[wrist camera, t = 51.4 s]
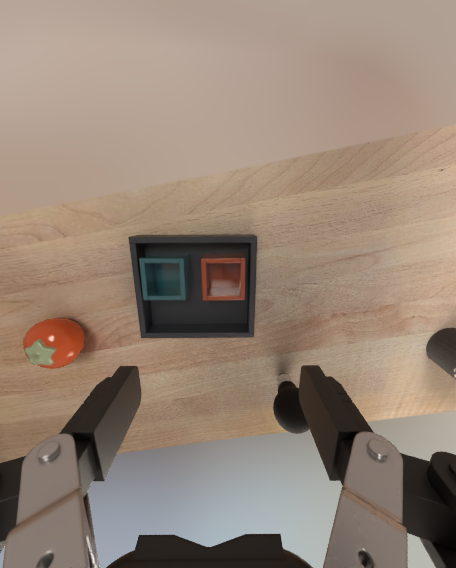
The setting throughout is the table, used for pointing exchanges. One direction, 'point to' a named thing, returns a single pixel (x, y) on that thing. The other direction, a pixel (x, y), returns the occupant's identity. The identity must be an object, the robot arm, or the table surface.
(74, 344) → the tomato
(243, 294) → the box brown
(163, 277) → the box teal
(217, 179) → the table surface
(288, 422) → the light bulb
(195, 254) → the tray
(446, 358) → the coffee cup
